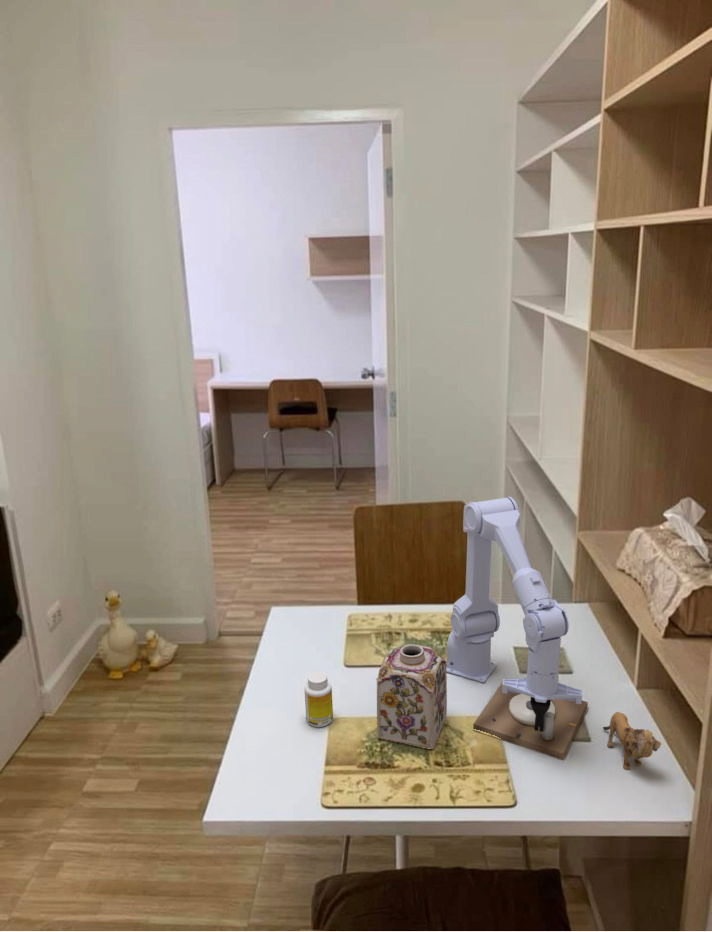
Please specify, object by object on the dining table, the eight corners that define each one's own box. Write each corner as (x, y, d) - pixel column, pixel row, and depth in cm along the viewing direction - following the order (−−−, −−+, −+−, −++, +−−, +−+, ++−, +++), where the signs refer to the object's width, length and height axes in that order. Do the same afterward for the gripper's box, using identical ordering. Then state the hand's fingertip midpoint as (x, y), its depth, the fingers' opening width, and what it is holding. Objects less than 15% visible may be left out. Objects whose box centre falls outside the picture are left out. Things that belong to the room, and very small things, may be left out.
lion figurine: (661, 777, 130) (666, 735, 127) (635, 783, 129) (640, 741, 126) (614, 727, 144) (617, 688, 141) (590, 732, 142) (593, 693, 140)
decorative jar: (433, 752, 138) (433, 671, 133) (376, 740, 142) (373, 660, 137) (447, 715, 149) (448, 638, 144) (394, 705, 153) (392, 630, 148)
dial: (503, 700, 150) (503, 680, 149) (544, 696, 151) (545, 675, 150) (527, 743, 137) (528, 720, 136) (571, 737, 139) (573, 715, 137)
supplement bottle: (337, 723, 148) (335, 680, 145) (312, 731, 145) (310, 687, 142) (326, 708, 153) (324, 666, 150) (302, 716, 150) (299, 673, 147)
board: (473, 730, 144) (473, 723, 144) (504, 684, 159) (504, 677, 158) (563, 760, 135) (563, 752, 135) (587, 708, 150) (587, 701, 149)
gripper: (501, 673, 133) (499, 735, 137) (583, 684, 129) (578, 747, 133) (505, 652, 139) (502, 712, 143) (583, 662, 135) (578, 724, 139)
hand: (539, 728), depth 139 cm, fingers closed, pressing on dial
